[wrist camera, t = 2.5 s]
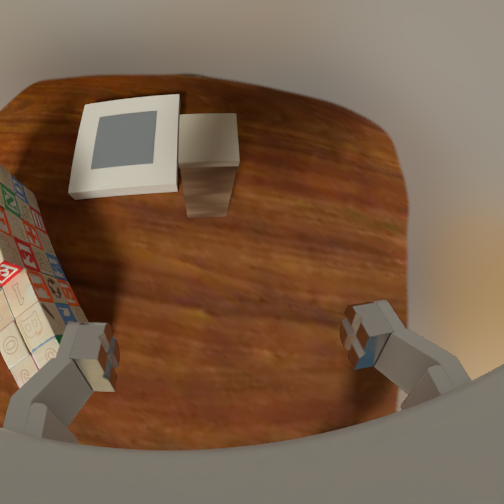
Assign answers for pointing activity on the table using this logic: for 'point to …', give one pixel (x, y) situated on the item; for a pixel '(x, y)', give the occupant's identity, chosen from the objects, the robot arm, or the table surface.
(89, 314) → the table surface
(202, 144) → the brown tall block
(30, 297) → the stack of blocks
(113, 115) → the plate
